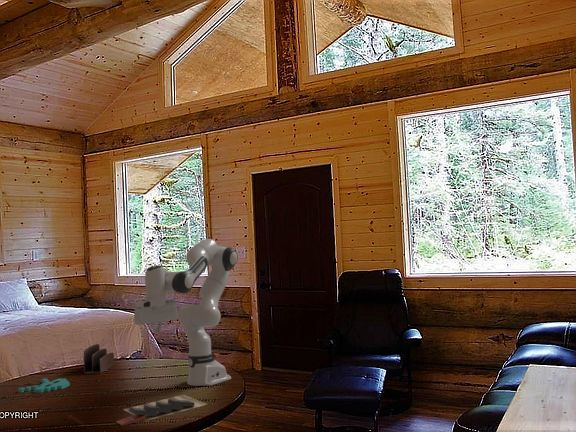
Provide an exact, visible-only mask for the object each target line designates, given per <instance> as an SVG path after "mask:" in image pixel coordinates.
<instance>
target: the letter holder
mask: <svg viewBox="0 0 576 432" xmlns="http://www.w3.org/2000/svg"><path fill="white" fill-rule="evenodd" d="M107 350H108V349H107V348H100V344H99V343H95V344H93V345H90V346H89V347H87V348H85V349H84V351H83V374H84V375H92V374H94V375H96V374H97V375H98V374H102V373H104V372H106V371H107V370H109V369H111V368H112V367H114V366H115V354H114V352H109V353H108V352H107Z"/></svg>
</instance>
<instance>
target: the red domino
mask: <svg viewBox="0 0 576 432" xmlns="http://www.w3.org/2000/svg"><path fill="white" fill-rule="evenodd" d="M145 419H146V416H145V415H139V414H135V415H133V414H131V415H130V416H128V417H125V418H122V419H119V420H116V424H118V425H119V426H121V427H122V426H126V425H131V424H133V423H139V422H142V421H143V422H144V420H145Z"/></svg>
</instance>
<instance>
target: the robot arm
mask: <svg viewBox="0 0 576 432" xmlns="http://www.w3.org/2000/svg"><path fill="white" fill-rule="evenodd" d="M185 259H186V262H187V264H188V265H189V268H188V269H187V270H183V271H182V270H181V271H169V270H167V269H165V268H164V266H163V265H158V264H157V265H152V266H148V268H147V269H146V270H145V274H144V277H145V278H144V285H145V290H146V291H145V297H144V298H143V299H141V300H139V301H136V302H135V309H134V312H133V323H134V324H135V325H137V326H141V325H146V324H147V325H149V324H150V326H151V328H152V332H153V333H154V334H156V333H161V331H162V330H161V329H162V327H163V325H164V322H169V321H176V320H178V322H179V323H180V325H182V327H183V329H184V331H185V333H186V337H187V340H188V351H189V352H188V353H189V354H188V367H189V368H188V369H189V370H188V378H187V383H186V384H187V386H188V385H189V386H193V387H198V386H201V387H202V386H206V387H207V386H214V385H216V384H219V383H223V382H227V381H229V380H232V376H231V375H230V374H228V373H227V369H226V367H225V366H224V365H223V364H221V363H220V362H219V361H217V360H216V359H218V357H219V354H218V353H213V352H212V339H211V337H210V335H209V334H208V333H207V331H206V330H205V328H213V327H216V326H218V325H219V323H220V321H221V312H220V310H219V302H220V298H221V296H222V294H223V293H224V290H225V288H226V286H227V283H228V280H229V277H230V271H231V270H232V269H233V268H234V267H235V266H236V264H237V262H238V259H239V256H238V252H237V250H236V249H235V248H232V247H228V246H227V247H226V246H222V245H218V244H217V242H216V241H215V240H214V239H211V238H206V239H203V240H201V241H199V242H198V243H196V244H195V245H193V247H191V248H190V249H189V250H188V251H187V253H186V257H185ZM208 266H210V267H211V271H209V273H208V275H207V276H206V278H205V280H204V282H203V283H202V286H201V287H200V289H199V296H200V298H201V301H200V303H199V304H188V305H184V306H180V308H179V310H178V307H177V306H178V302H177V301H176V300H175V299H166V295H167V294H166V293H178V294H179V293H180V294H187V293H189V292H190V291H191V290H192V288H193V286H194V284H195V283H196V281H197V280H198V279H199V277H200V276H202V274H203V273H204V271H205V270H206V269H207V267H208ZM156 323H157V324H158V326H157V327H156V326H155V325H156Z"/></svg>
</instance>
